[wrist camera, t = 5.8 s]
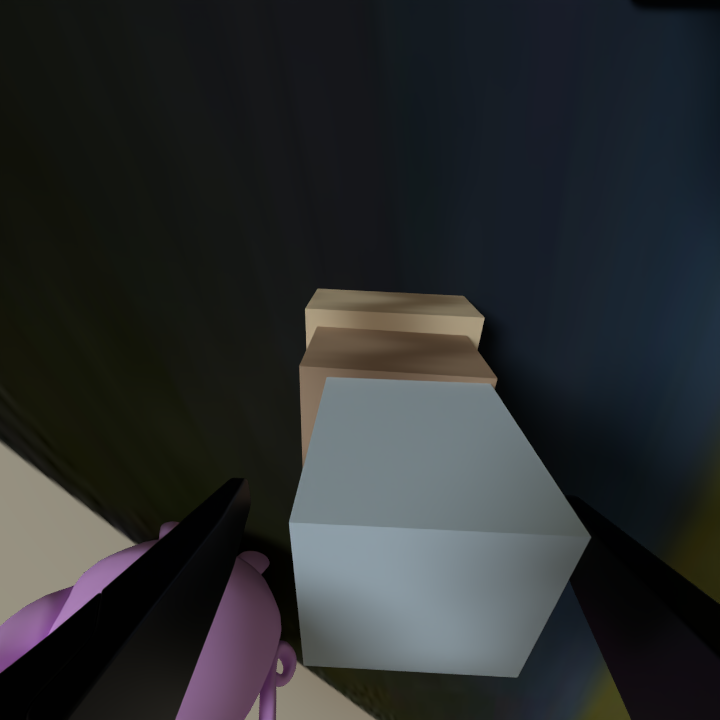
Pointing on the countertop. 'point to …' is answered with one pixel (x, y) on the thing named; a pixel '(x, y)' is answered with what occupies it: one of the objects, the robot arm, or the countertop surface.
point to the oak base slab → (393, 313)
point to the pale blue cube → (426, 531)
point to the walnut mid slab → (383, 362)
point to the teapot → (222, 646)
